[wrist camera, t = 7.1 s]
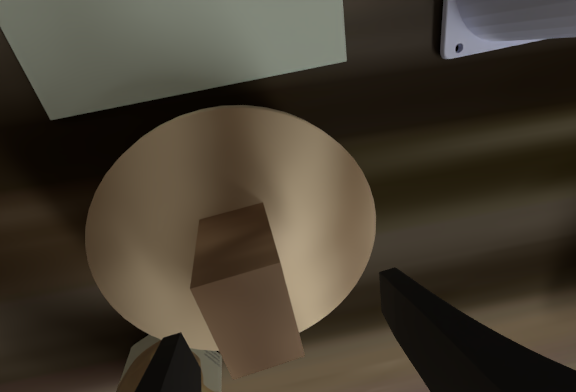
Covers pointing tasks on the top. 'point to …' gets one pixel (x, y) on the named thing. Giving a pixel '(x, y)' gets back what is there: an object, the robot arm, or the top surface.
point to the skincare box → (143, 355)
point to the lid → (231, 232)
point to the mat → (163, 46)
